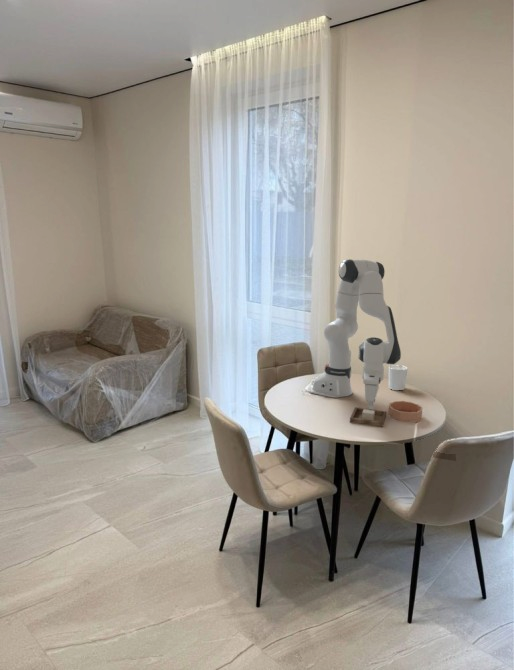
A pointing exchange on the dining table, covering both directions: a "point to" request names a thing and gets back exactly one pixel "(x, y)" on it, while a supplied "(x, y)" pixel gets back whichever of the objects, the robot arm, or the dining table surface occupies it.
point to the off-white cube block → (368, 414)
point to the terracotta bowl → (405, 411)
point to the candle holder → (397, 377)
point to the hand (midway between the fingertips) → (372, 405)
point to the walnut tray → (378, 420)
